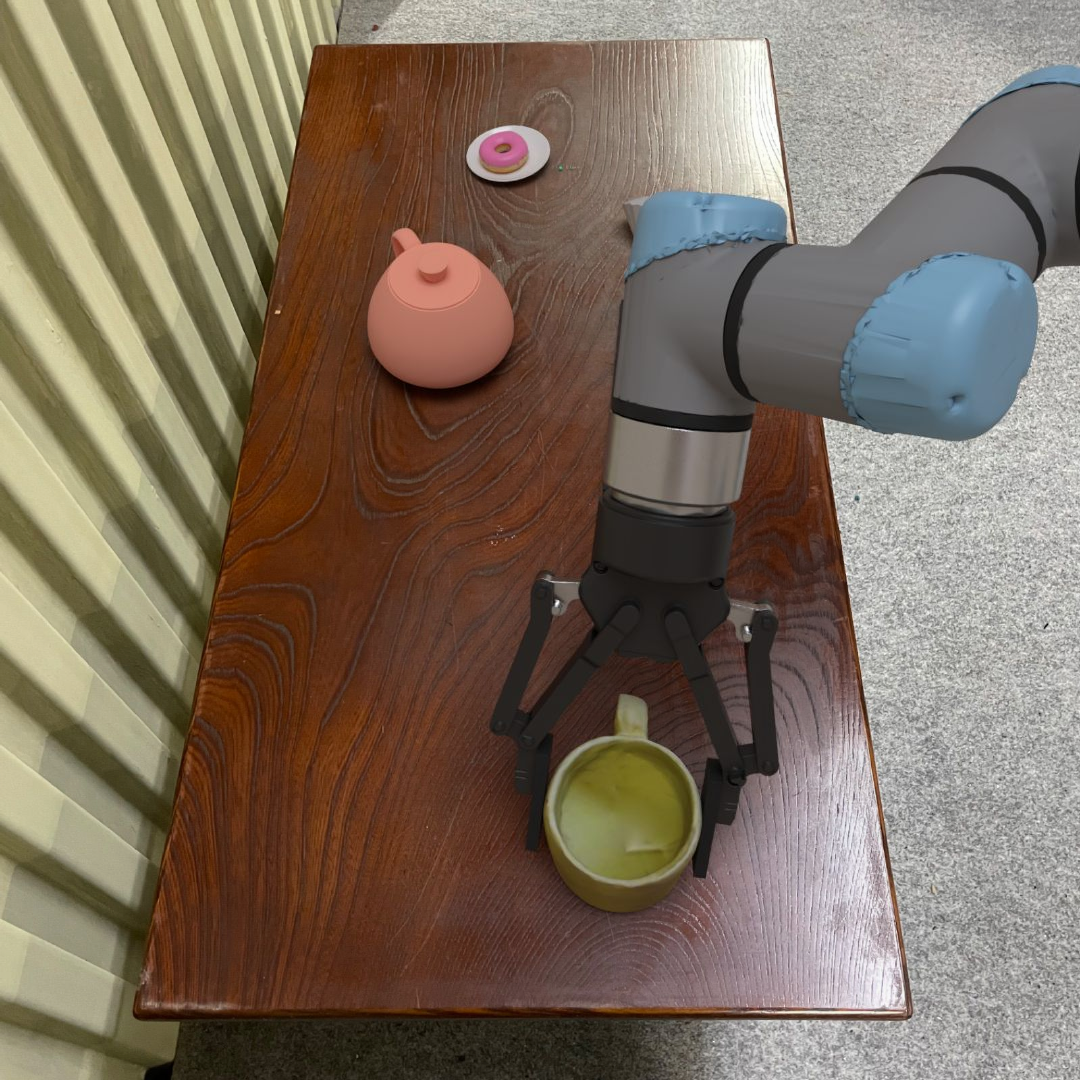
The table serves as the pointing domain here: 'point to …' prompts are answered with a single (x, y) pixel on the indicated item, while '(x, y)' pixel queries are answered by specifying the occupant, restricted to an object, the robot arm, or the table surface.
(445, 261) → the sugar bowl
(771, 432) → the table surface
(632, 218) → the gemstone
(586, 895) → the mug
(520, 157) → the donut
